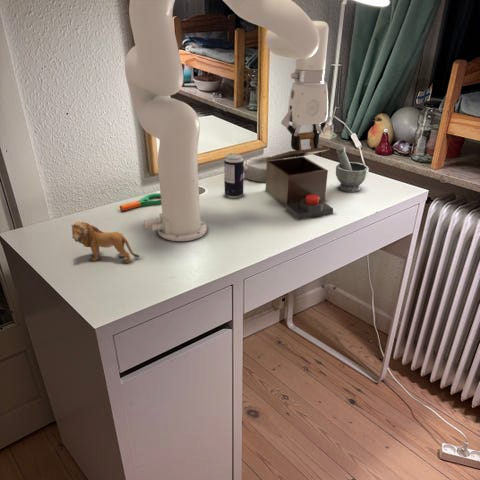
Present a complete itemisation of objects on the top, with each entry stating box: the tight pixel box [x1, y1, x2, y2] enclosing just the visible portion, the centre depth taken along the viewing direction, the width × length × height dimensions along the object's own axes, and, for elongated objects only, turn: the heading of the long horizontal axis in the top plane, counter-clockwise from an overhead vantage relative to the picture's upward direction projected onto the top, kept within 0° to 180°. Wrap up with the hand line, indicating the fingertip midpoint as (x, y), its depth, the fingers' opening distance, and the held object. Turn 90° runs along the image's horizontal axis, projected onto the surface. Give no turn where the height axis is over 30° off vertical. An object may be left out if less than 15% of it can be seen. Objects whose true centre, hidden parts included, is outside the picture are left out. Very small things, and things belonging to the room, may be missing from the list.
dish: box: [244, 155, 279, 183], centre depth 161 cm, size 14×14×5 cm
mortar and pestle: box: [335, 146, 370, 193], centre depth 150 cm, size 11×9×12 cm
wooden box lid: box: [267, 131, 331, 161], centre depth 140 cm, size 15×13×5 cm
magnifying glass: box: [119, 192, 162, 212], centre depth 141 cm, size 15×6×2 cm, turn 133°
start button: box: [306, 195, 319, 205], centre depth 134 cm, size 4×4×2 cm
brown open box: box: [265, 156, 329, 208], centre depth 145 cm, size 15×13×9 cm
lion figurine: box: [70, 221, 140, 264], centre depth 112 cm, size 15×5×9 cm, turn 90°
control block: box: [286, 198, 334, 221], centre depth 136 cm, size 11×8×4 cm
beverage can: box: [223, 152, 245, 199], centre depth 144 cm, size 6×6×12 cm
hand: (304, 147), depth 136 cm, fingers closed on wooden box lid, 5 cm apart
